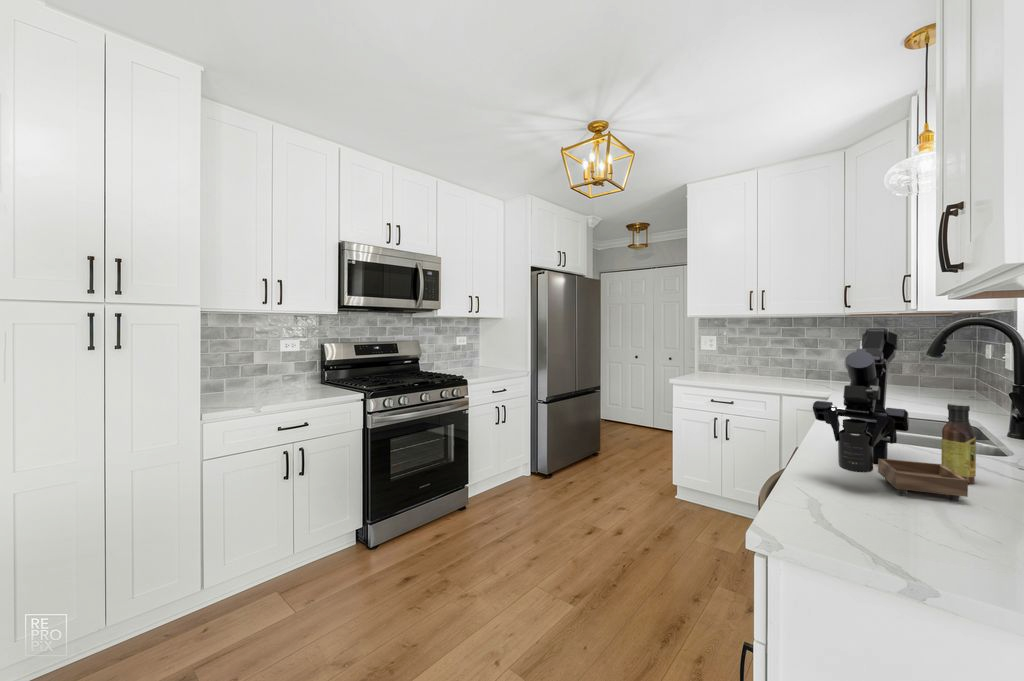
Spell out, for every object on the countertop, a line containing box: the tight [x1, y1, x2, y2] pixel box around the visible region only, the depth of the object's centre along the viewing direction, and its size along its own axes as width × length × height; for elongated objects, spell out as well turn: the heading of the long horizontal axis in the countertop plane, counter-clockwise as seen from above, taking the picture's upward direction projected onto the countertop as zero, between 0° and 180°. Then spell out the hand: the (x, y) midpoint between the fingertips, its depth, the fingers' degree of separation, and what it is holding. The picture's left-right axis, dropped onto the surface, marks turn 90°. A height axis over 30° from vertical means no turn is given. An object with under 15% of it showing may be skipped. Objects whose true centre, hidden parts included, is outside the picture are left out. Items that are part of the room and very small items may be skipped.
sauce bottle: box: [941, 402, 977, 484], centre depth 113 cm, size 6×6×20 cm
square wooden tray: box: [877, 458, 969, 502], centre depth 106 cm, size 13×13×6 cm
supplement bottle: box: [837, 418, 874, 474], centre depth 107 cm, size 7×7×12 cm
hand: (853, 443), depth 106 cm, fingers closed on supplement bottle, 7 cm apart
